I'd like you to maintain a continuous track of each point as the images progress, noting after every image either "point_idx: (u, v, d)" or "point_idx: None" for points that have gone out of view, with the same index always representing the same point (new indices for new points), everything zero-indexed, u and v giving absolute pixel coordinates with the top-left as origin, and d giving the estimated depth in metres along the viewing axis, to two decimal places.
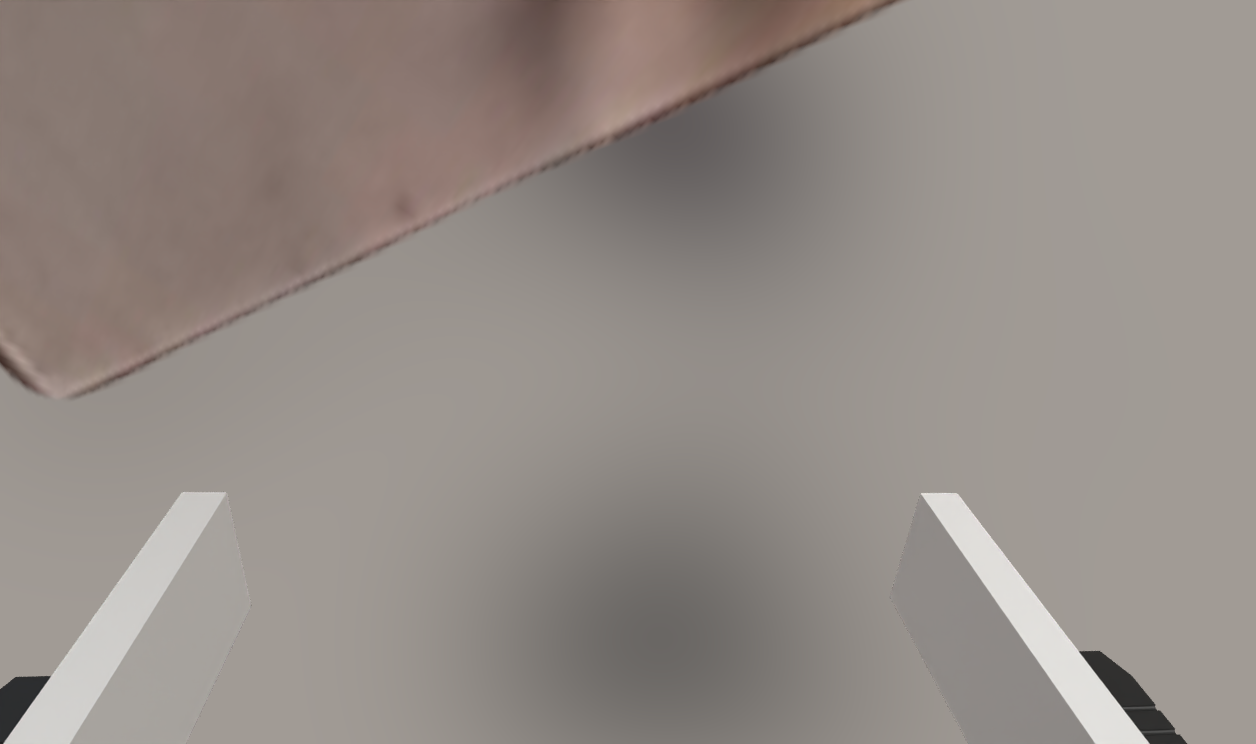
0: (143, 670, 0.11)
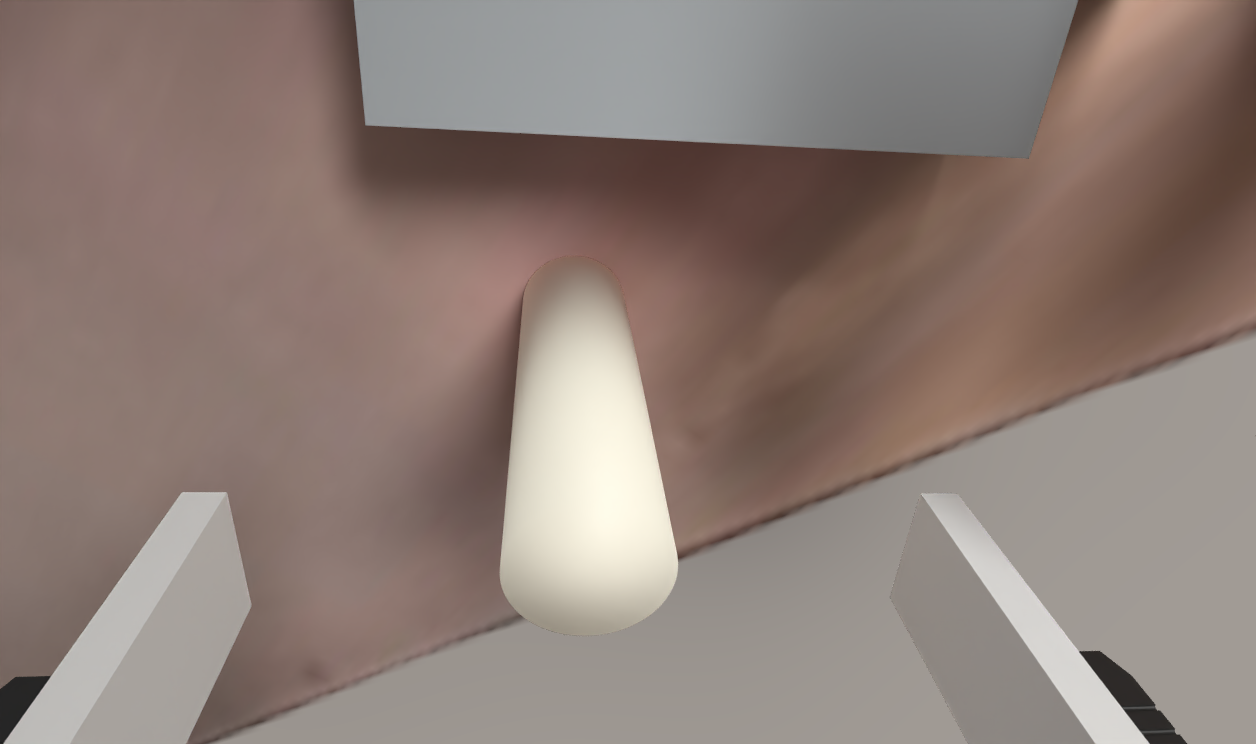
0: (144, 669, 0.11)
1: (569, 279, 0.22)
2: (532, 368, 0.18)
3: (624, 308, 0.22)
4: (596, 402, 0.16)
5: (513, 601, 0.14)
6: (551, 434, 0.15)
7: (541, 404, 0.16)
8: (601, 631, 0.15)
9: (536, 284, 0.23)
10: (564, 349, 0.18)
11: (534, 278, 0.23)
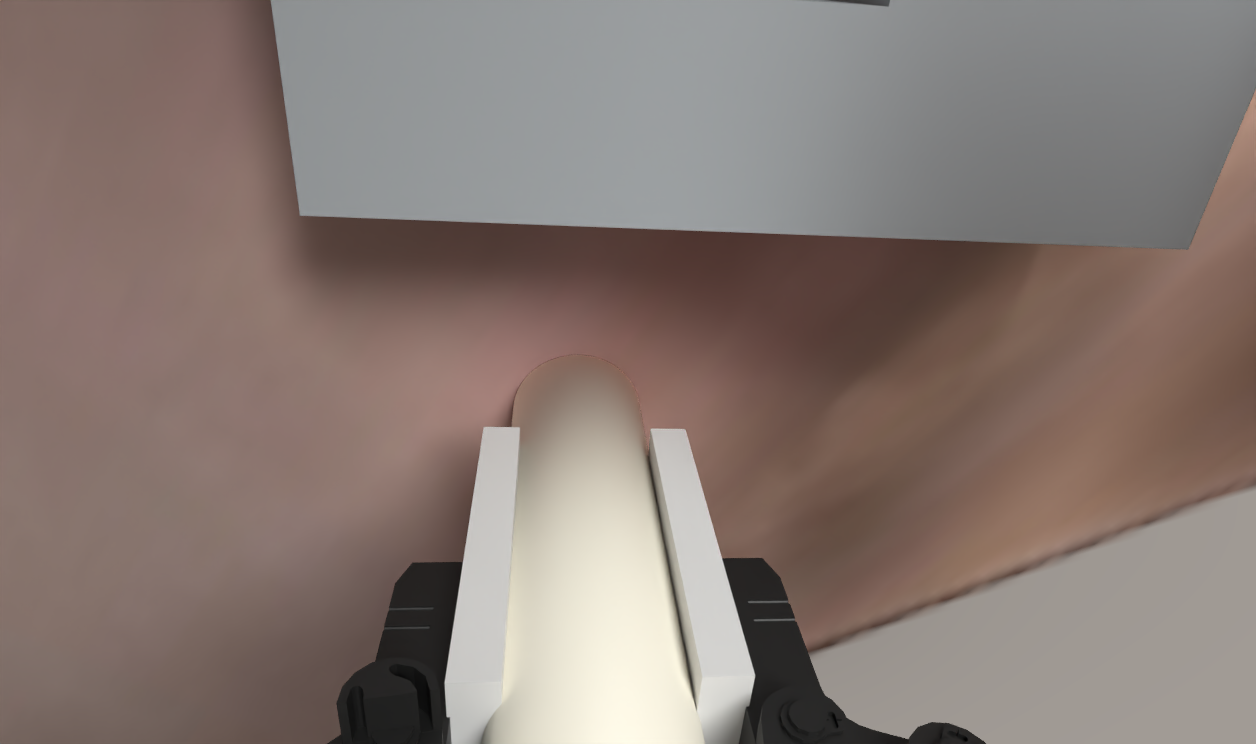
0: None
1: (570, 393, 0.17)
2: (519, 543, 0.13)
3: (640, 427, 0.17)
4: (608, 623, 0.11)
5: None
6: (543, 690, 0.10)
7: (532, 619, 0.11)
8: None
9: (529, 395, 0.18)
10: (563, 517, 0.13)
11: (526, 385, 0.18)
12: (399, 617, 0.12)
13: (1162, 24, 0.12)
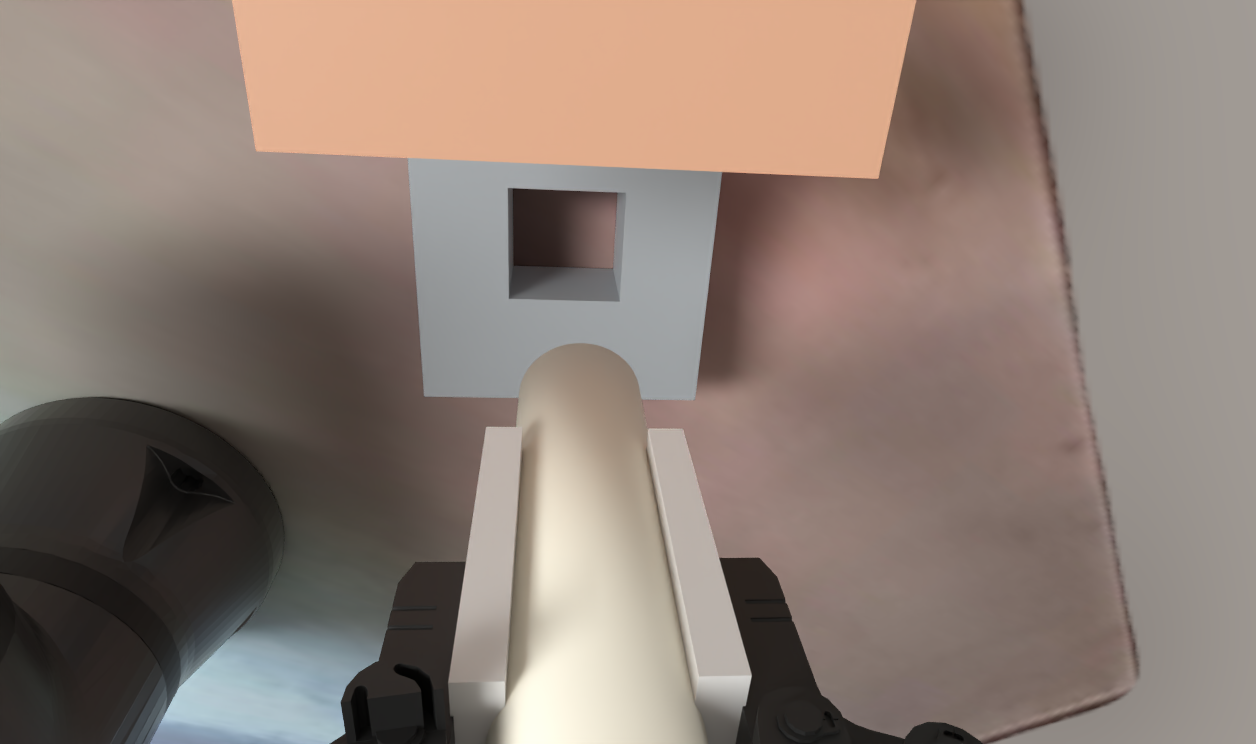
0: None
1: (573, 378, 0.18)
2: (526, 514, 0.14)
3: (641, 411, 0.18)
4: (609, 583, 0.12)
5: None
6: (547, 641, 0.11)
7: (537, 581, 0.12)
8: None
9: (534, 381, 0.19)
10: (566, 490, 0.14)
11: (532, 372, 0.19)
12: (402, 617, 0.12)
13: None
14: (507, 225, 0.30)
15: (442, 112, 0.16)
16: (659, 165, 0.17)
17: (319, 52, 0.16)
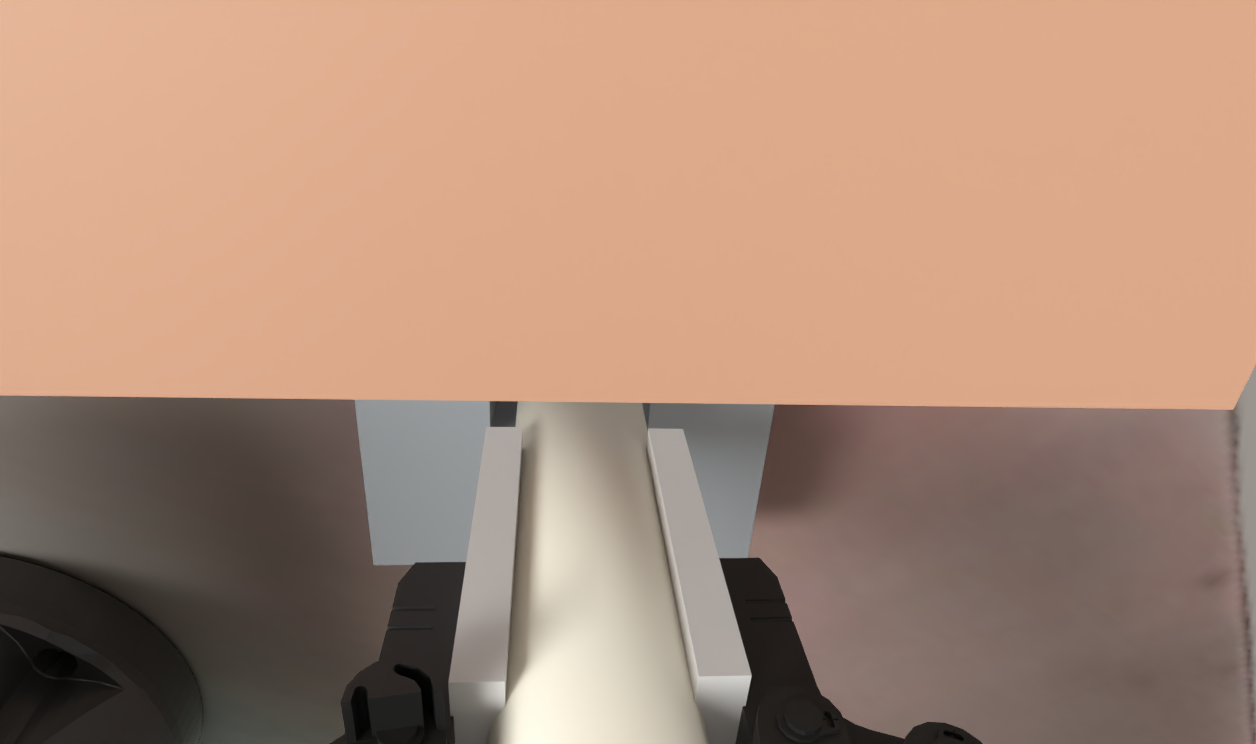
0: None
1: None
2: (526, 517, 0.14)
3: (641, 412, 0.18)
4: (609, 587, 0.12)
5: None
6: (548, 645, 0.11)
7: (536, 585, 0.12)
8: None
9: None
10: (566, 493, 0.14)
11: None
12: (402, 617, 0.12)
13: None
14: None
15: (305, 305, 0.07)
16: (789, 397, 0.08)
17: None
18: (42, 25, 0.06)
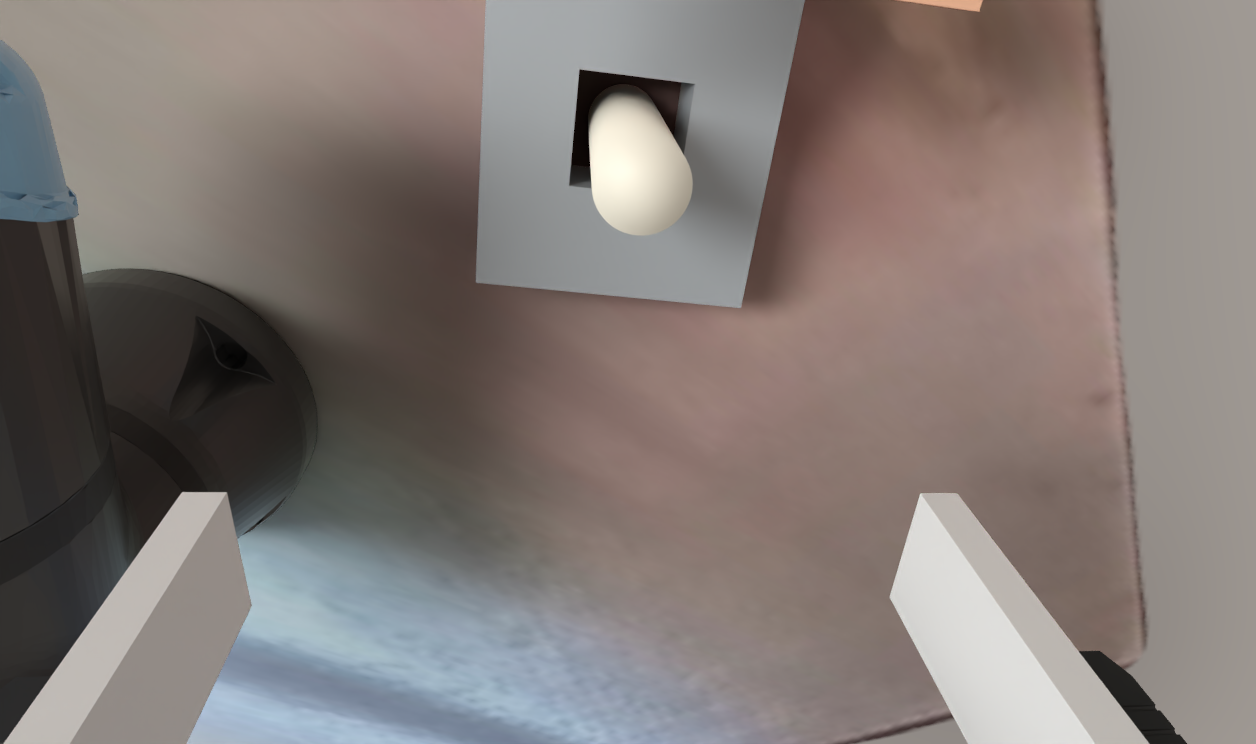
0: (144, 670, 0.11)
1: (624, 89, 0.32)
2: (603, 117, 0.29)
3: None
4: (646, 117, 0.26)
5: (597, 203, 0.24)
6: (621, 124, 0.25)
7: (613, 120, 0.27)
8: (645, 234, 0.25)
9: (600, 97, 0.33)
10: (624, 106, 0.29)
11: (598, 96, 0.34)
12: None
13: None
14: (575, 109, 0.31)
15: None
16: None
17: None
18: None
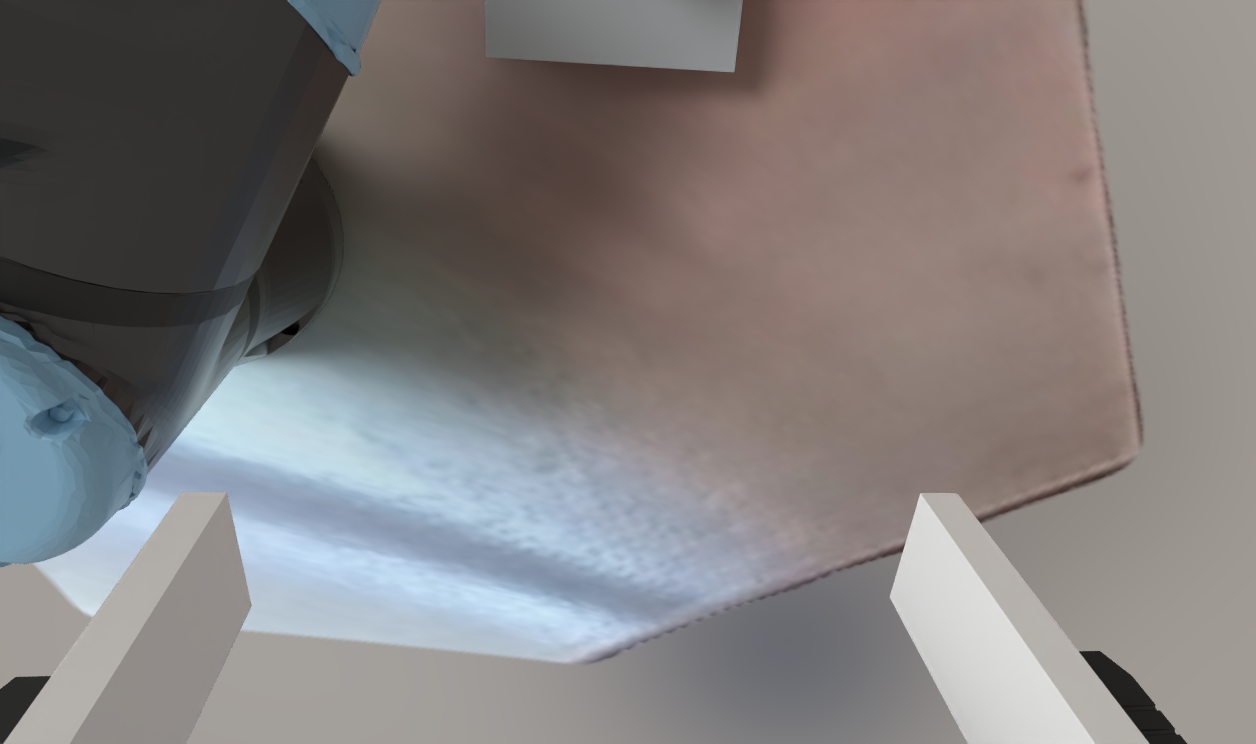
0: (144, 670, 0.11)
1: None
2: None
3: None
4: None
5: None
6: None
7: None
8: None
9: None
10: None
11: None
12: None
13: None
14: None
15: None
16: None
17: None
18: None
